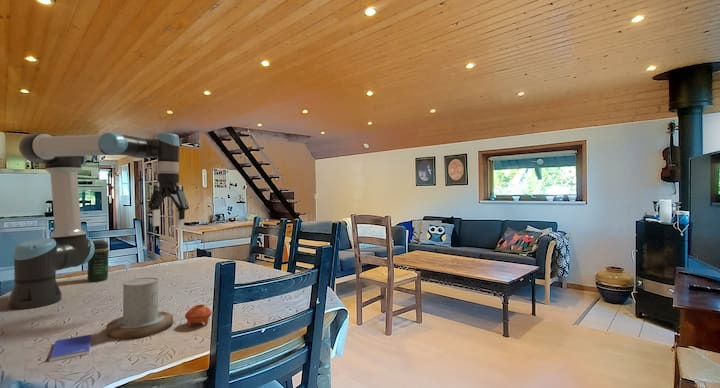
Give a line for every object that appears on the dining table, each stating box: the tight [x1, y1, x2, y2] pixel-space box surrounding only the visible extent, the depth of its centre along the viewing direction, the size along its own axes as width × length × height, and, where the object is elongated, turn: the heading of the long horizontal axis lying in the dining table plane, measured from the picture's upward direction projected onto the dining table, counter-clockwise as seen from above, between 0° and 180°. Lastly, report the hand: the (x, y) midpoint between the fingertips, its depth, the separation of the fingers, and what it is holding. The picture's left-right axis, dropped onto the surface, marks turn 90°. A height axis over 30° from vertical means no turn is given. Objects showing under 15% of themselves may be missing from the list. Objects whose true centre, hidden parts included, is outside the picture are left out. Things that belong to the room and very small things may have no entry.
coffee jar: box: [87, 239, 109, 282], centre depth 172 cm, size 10×8×19 cm
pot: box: [184, 304, 213, 328], centre depth 118 cm, size 8×8×7 cm
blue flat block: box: [48, 334, 92, 363], centre depth 99 cm, size 2×8×12 cm
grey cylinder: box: [122, 277, 159, 326], centre depth 114 cm, size 10×10×12 cm
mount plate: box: [105, 310, 174, 340], centre depth 114 cm, size 18×18×2 cm
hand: (168, 227), depth 142 cm, fingers open, 13 cm apart
